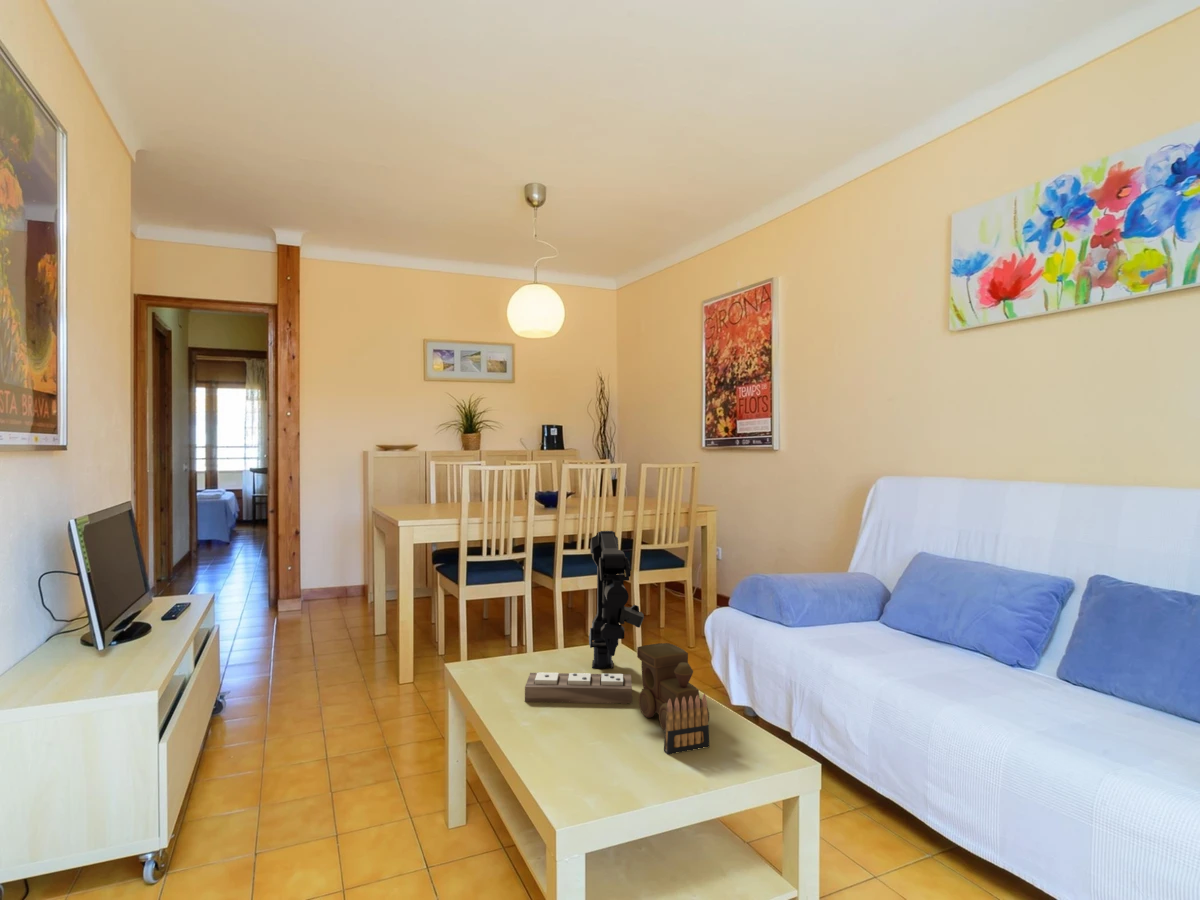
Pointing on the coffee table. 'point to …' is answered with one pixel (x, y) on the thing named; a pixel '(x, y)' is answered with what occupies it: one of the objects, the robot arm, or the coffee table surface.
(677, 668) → the wooden toy train
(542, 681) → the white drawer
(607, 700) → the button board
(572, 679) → the two dot tile
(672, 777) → the coffee table surface
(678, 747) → the ammunition clip
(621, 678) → the three dot tile
